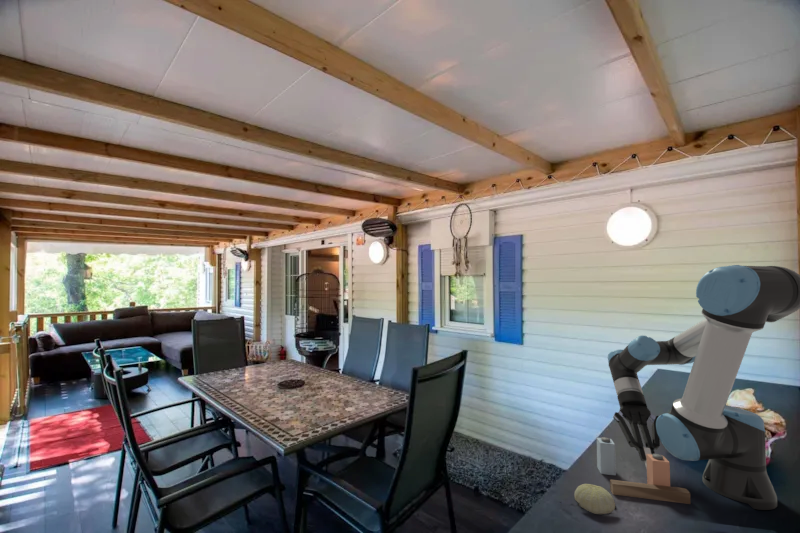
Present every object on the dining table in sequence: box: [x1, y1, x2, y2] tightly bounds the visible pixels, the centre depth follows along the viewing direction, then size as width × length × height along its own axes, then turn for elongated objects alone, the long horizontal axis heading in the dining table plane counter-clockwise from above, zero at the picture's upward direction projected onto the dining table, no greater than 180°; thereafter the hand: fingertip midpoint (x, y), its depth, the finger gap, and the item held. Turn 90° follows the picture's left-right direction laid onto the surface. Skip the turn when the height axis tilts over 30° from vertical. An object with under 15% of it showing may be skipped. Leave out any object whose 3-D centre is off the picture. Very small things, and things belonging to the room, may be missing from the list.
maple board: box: [609, 479, 691, 505], centre depth 104 cm, size 16×18×4 cm
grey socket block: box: [596, 436, 617, 476], centre depth 111 cm, size 4×4×10 cm
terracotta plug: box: [646, 453, 671, 487], centre depth 100 cm, size 4×4×10 cm
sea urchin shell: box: [573, 483, 616, 515], centre depth 95 cm, size 9×8×8 cm
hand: (652, 473), depth 103 cm, fingers closed
